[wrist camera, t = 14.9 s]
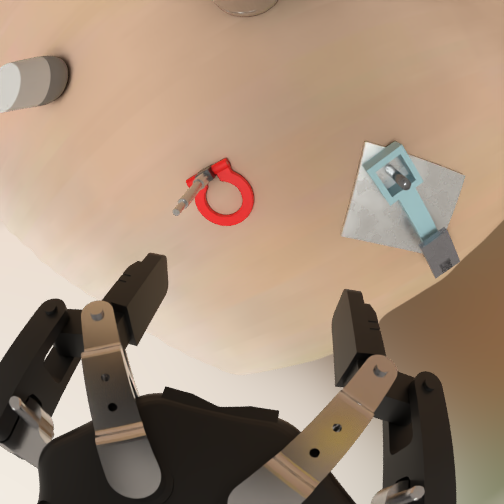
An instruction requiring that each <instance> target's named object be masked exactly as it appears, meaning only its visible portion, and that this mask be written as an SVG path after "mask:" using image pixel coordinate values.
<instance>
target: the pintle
mask: <svg viewBox="0 0 504 504" xmlns="http://www.w3.org/2000/svg"><path fill="white" fill-rule="evenodd" d="M385 171H386V173H387V174H388V175H389V176H390V177H391V178H392V179H393V180H394V181H395V182H396V183H397V184H398V185H399V186H400V187H401V188H402V189H403V190H409V189H410V188H411V182H410V181H409V180H408V179H407V178H406V177H405V176H404V175H402V174H401V173H400V172H399V171H398V170H397V169H395V168H394V167H393V166H391V165H388V166H387V167H386V168H385Z"/></svg>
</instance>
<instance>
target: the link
mask: <svg viewBox="0 0 504 504" xmlns="http://www.w3.org/2000/svg"><path fill="white" fill-rule="evenodd" d="M397 156H398V157H399V159H400V161H401V162H402V164H403V165H404V167H405V169H406V170H407V172H408V175H406V176H405V177H406V178H407V179H408V180H409V181H410V182H411V188H410V189H409V190H403V189H402V188H401V187H400V186H399V185H398V184H397V183H395V184H394V185H393V186H391V187H390V188H389V189H386V187H385V186H384V184H383V183H382V181H381V180H380V178H379V177H378V175H377V174H376V172H377V171H378V170H379V169H381V168H382V167H383V166H385V165H386V164H387V163H389V162H390V161H392V160H393V159H394V158H396V157H397ZM362 166H363V168H364V169H365V170H366V172H367V173H368V175H369V176H370V178H371V179H372V180H373V182H374V183H375V185H376V186H377V188H378V189H379V191H380V192H381V194H382V195H383V197H384V198H385V199H386V201H387V202H388V203H389V205H390V206H391V205H392V204H394V203H395V202H396V201H399V203H400V205H401V206H402V208H403V210H404V211H405V213H406V215H407V216H408V218H409V220H410V222H411V223H412V225H413V227H414V229H415V230H416V232H417V234H418V236H419V238H420V240H421V241H422V242H423V241H425V240H426V239H428V238H429V237H430V236H432V235H433V234H435V233H436V232H437V231H438V230H437V228H436V226H435V224H434V222H433V220H432V218H431V216H430V214H429V212H428V210H427V208H426V206H425V204H424V203H423V201H422V199H421V197H420V195H419V193H418V192H417V190H416V187H417V186H418V185H420V184H421V183H422V182H424V181H423V179H422V178H421V176H420V174H419V172H418V171H417V169H416V167H415V165H414V164H413V162H412V160H411V159H410V157H409V155H408V154H407V152H406V151H405V149H404V147H403V146H402V145H401V144H399V143H398V142H396V141H394V142H393V143H391V144H390V145H389V146H387V147H386V148H384V149H383V150H382V151H380V152H379V153H378V154H376V155H375V156H374V157H372V158H371V159H370V160H368V161H367V162H365V163H364V164H363V165H362Z"/></svg>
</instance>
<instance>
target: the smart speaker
mask: <svg viewBox="0 0 504 504" xmlns="http://www.w3.org/2000/svg"><path fill="white" fill-rule="evenodd" d="M67 80H68V69H67V66H66V64H65V62H64V61H63V60H62V59H60V58H58V57H55V56H41V57H34V58H29V59H24V60H20V61H15V62H11V63H7V64H5V65H3V66H2V67H1V68H0V113H2V112H8V111H13V110H19V109H24V108H31V107H37V106H42V105H45V104H48V103H50V102H52V101H54V100H55V99H57V98H58V97H59V96H60V95H61V94H62V92H63V91H64V89H65V87H66V84H67Z"/></svg>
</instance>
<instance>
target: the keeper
mask: <svg viewBox="0 0 504 504" xmlns="http://www.w3.org/2000/svg"><path fill="white" fill-rule="evenodd" d="M419 247H420V249H421V251H422V253H423V255H424V257H425V259H426V261H427V263H428V265H429V267H430V269H431V271H432V273H433V275H434V276H435V278H437V277H438V276H440V275H441V274H443V273H444V272H446V271H447V270H449V269H450V268H452V267H453V266H454V265H456V264H457V263H459V262H460V260H459V258H458V255H457V252H456V250H455V247H454V245H453V243H452V240H451V238H450V235H449V233H448V231H447V230H446V228H445V227H443V228H442V229H440V230H439V231H437V232H436V233H435V234H433V235H432V236H430V237H429V238H428V239H426V240H425V241H423V242H422V243H420V244H419Z"/></svg>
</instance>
